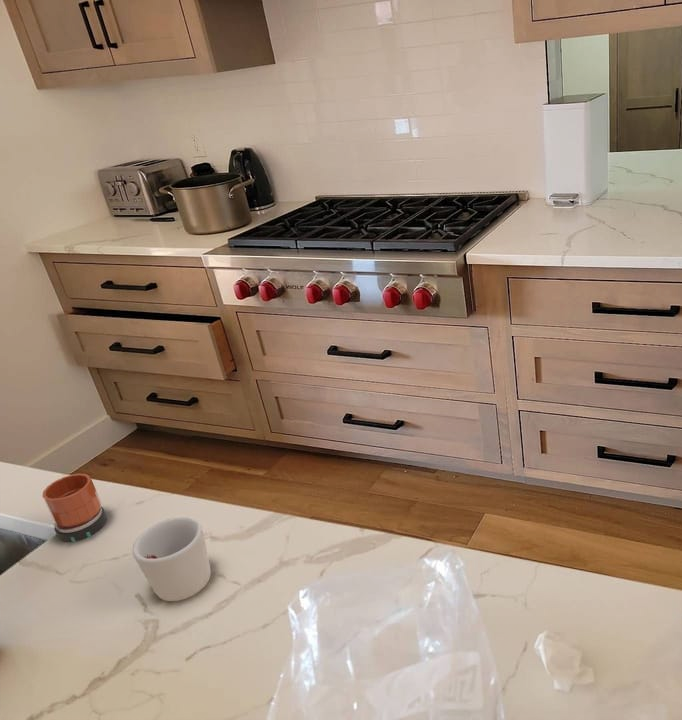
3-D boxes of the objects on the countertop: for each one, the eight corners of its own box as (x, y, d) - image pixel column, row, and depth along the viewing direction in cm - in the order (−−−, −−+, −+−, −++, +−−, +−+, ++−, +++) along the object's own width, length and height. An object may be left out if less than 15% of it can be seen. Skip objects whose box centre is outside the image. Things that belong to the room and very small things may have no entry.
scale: (58, 552, 94) (50, 536, 93) (61, 526, 99) (54, 511, 98) (108, 536, 96) (101, 520, 95) (109, 511, 102) (103, 496, 100)
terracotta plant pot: (54, 534, 93) (40, 505, 91) (57, 510, 98) (44, 482, 96) (101, 519, 95) (89, 490, 93) (103, 496, 100) (91, 468, 98)
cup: (152, 563, 90) (133, 516, 87) (214, 543, 93) (198, 496, 89) (151, 620, 81) (130, 570, 78) (220, 596, 84) (203, 546, 80)
